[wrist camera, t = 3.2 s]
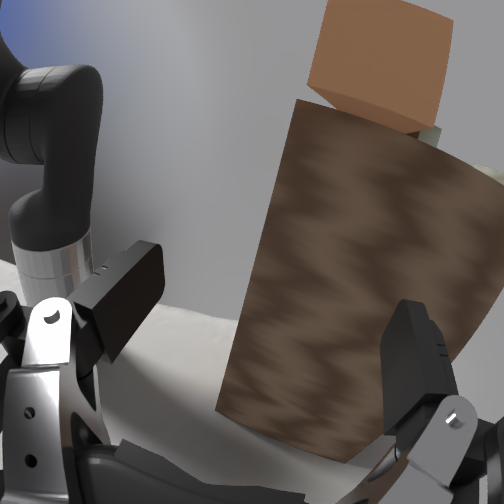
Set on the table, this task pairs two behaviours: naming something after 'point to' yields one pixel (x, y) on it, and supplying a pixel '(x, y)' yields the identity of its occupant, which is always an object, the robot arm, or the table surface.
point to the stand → (356, 274)
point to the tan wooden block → (382, 61)
